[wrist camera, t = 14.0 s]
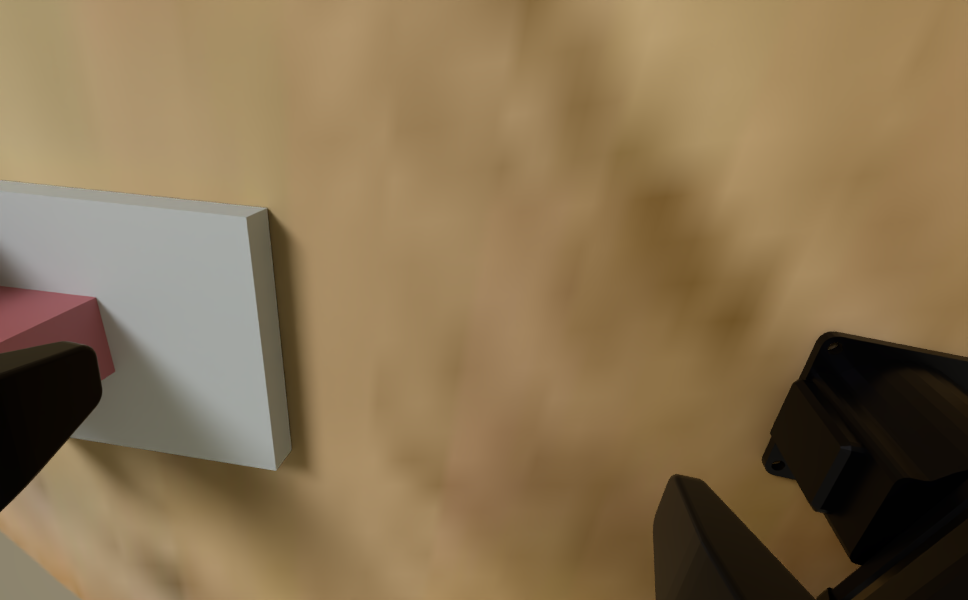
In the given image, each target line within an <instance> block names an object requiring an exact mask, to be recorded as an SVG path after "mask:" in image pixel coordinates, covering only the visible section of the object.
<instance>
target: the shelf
mask: <svg viewBox="0 0 968 600" xmlns="http://www.w3.org/2000/svg"><path fill="white" fill-rule="evenodd" d="M0 286H5V287H14V288H22V289H31V290H39V291H47V292H56V293H64V294H73V295H81V296H89V297H96V299H97V303H98V306H99V310H100V314H101V318H102V322H103V326H104V329H105V333H106V337H107V341H108V345H109V349H110V353H111V356H112V360H113V364H114V368H115V372H114V373H112V374H111V375H109V376H108V377H106V378H105V379H103V380H102V387H103V393H102V397H101V400H100V402H99V404H98V405H97V407H96V408H95V409H94V410H93V411H92V412H91V414H90V415H89V416H88V417H87V418H86V419H85V420H84V422H83V423H82V424H81V425H80V426H79V427H78V428H77V430H76V431H75V432H74V433H73V434H72V435H71V436H70V438H76V439H83V440H89V441H95V442H101V443H107V444H113V445H120V446H126V447H132V448H138V449H144V450H151V451H157V452H163V453H169V454H175V455H181V456H188V457H194V458H200V459H206V460H212V461H219V462H225V463H231V464H237V465H243V466H249V467H256V468H262V469H268V470H274V471H276V470H277V469H278V468H279V466H280V465H281V464H282V462H283V461H284V460H285V458H286V457H287V456H288V454H289V453H290V452H291V450H292V448H291V438H290V428H289V418H288V408H287V398H286V389H285V379H284V369H283V359H282V349H281V339H280V330H279V320H278V310H277V300H276V290H275V280H274V270H273V261H272V251H271V241H270V231H269V221H268V211H267V208H262V207H252V206H243V205H233V204H224V203H214V202H204V201H195V200H185V199H176V198H166V197H157V196H147V195H137V194H128V193H118V192H109V191H99V190H89V189H80V188H70V187H61V186H51V185H42V184H32V183H22V182H13V181H3V180H0Z"/></svg>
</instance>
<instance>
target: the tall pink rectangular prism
mask: <svg viewBox="0 0 968 600" xmlns="http://www.w3.org/2000/svg"><path fill="white" fill-rule="evenodd" d="M59 341H70V342H75V343H79V344H84V345H88V346H90V347H92V348H93V349H94V351H95V352H96V354H97V359H98V364H99V370H100V376H101V381H102V380H103V379H105V378H106V377H108V376H109V375H111V374H112V373H114V372H115V368H114V364H113V360H112V356H111V353H110V349H109V345H108V341H107V337H106V333H105V329H104V326H103V322H102V318H101V314H100V310H99V306H98V303H97V299H96V297H89V296H81V295H73V294H64V293H56V292H47V291H39V290H31V289H22V288H14V287H5V286H0V353H5V352H10V351H15V350H20V349H25V348H30V347H34V346H39V345H44V344H49V343H54V342H59Z"/></svg>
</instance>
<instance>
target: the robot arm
mask: <svg viewBox="0 0 968 600" xmlns="http://www.w3.org/2000/svg"><path fill="white" fill-rule="evenodd" d="M836 342H838V345H837V346H836V348H834V349H832V350H828V347H829V346H830V344H832V343H836ZM102 393H103V387H102V381H101V376H100V370H99V364H98V359H97V354H96V352H95V351H94V349H93V348H92V347H90V346H88V345H84V344H79V343H75V342H70V341H59V342H54V343H49V344H44V345H39V346H34V347H30V348H25V349H20V350H15V351H10V352H5V353H0V512H1V511H2V510H3V509H4V508H5V507H6V506H7V505H8V504H9V503H10V502H11V501H12V500H13V499H14V498H15V497H16V496H17V495H18V494H19V493H20V492H21V491H22V490H23V489H24V488H25V487H26V486H27V485H28V484H29V483H30V482H31V481H32V480H33V479H34V477H35V476H36V475H37V474H38V473H39V472H40V471H41V470H42V469H43V467H44V466H45V465H46V464H47V463H48V462H49V460H50V459H51V458H52V457H53V456H54V455H55V454H56V452H57V451H58V450H59V449H60V448H61V447H62V446H63V444H64V443H65V442H66V441H67V440H68V439H69V438H70V436H71V435H72V434H73V433H74V432H75V431H76V430H77V428H78V427H79V426H80V425H81V424H82V423H83V422H84V420H85V419H86V418H87V417H88V416H89V415H90V414H91V412H92V411H93V410H94V409H95V408H96V407H97V405H98V404H99V402H100V400H101V397H102ZM770 434H771V436H772V437H771V439H770V441H769V444H768V446H767V448H766V450H765V452H764V454H763V456H762V463H763V465H764V467H765V469H766V471H767V472H768V473H770V474H772V475H776V476H780V477H785V478H790V479H794V480H796V481H797V483H798V484H799V486H800V488H801V490H802V492H803V493H804V495H805V497H806V499H807V501H808V502H809V504H810V506H811V507H812V509H813V510H814V511H816V512H820V513H823V514H824V515H825V517H826V519H827V520H828V522H829V524H830V526H831V527H832V529H833V531H834V533H835V534H836V536H837V538H838V540H839V541H840V543H841V545H842V546H843V548H844V550H845V552H846V553H847V555H848V557H849V559H850V560H851V562H853V563H855V564H858V565H862V566H860V567H859V568H858V569H857V570H855V571H854V572H853V573H852V574H851V575H849V576H848V577H847V578H846V579H844V580H843V581H842V582H841V583H840V584H838V585H837V586H836V587H835V588H834V589H833V588H830V587H829V588H827V589H826V590H825V591H824V592H822V593H821V594H820V595H819V596H818V597H817V598H816V600H968V357H963V356H958V355H953V354H948V353H942V352H937V351H932V350H927V349H922V348H917V347H912V346H907V345H902V344H896V343H891V342H886V341H881V340H876V339H871V338H866V337H861V336H856V335H850V334H845V333H840V332H827V333H824V334H823V335H821V336H820V337H819V338H818V340H817V341H816V343H815V345H814V348H813V350H812V352H811V354H810V356H809V358H808V360H807V362H806V365H805V367H804V369H803V371H802V373H801V375H800V377H799V379H798V380H797V381H795V382H794V383H793V384H792V386H791V388H790V391H789V393H788V395H787V397H786V399H785V401H784V403H783V406H782V408H781V410H780V412H779V414H778V416H777V419H776V421H775V423H774V425H773V427H772V429H771V432H770ZM775 461H780V462H779V463H777V464H772V463H773V462H775ZM653 544H654V568H655V592H656V600H815V599H814V597H813V596H812V595H811V594H810V593H809V592H808V591H807V590H806V589H805V588H804V587H803V586H802V585H801V584H800V583H799V582H798V580H797V579H796V578H795V577H794V576H793V575H792V574H791V573H790V572H789V571H788V570H787V569H786V568H785V567H784V566H783V565H782V564H781V562H780V561H779V560H778V559H777V558H776V557H775V556H774V555H773V554H772V553H771V552H770V551H769V550H768V549H767V548H766V547H765V546H764V544H763V543H762V542H761V541H760V540H759V539H758V538H757V537H756V536H755V535H754V534H753V533H752V532H751V531H750V530H749V529H748V527H747V526H746V525H745V524H744V523H743V522H742V521H741V520H740V519H739V518H738V517H737V516H736V515H735V514H734V513H733V512H732V511H731V509H730V508H729V507H728V506H727V505H726V504H725V503H724V502H723V501H722V500H721V499H720V498H719V497H718V496H717V495H716V494H715V493H714V491H713V490H712V489H711V488H710V487H709V486H708V485H707V484H706V483H705V482H704V481H702V480H700V479H697V478H693V477H688V476H684V475H679V474H675V475H673V476H671V478H670V479H669V481H668V483H667V485H666V488H665V491H664V493H663V496H662V499H661V501H660V504H659V506H658V509H657V512H656V514H655V518H654V524H653Z"/></svg>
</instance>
